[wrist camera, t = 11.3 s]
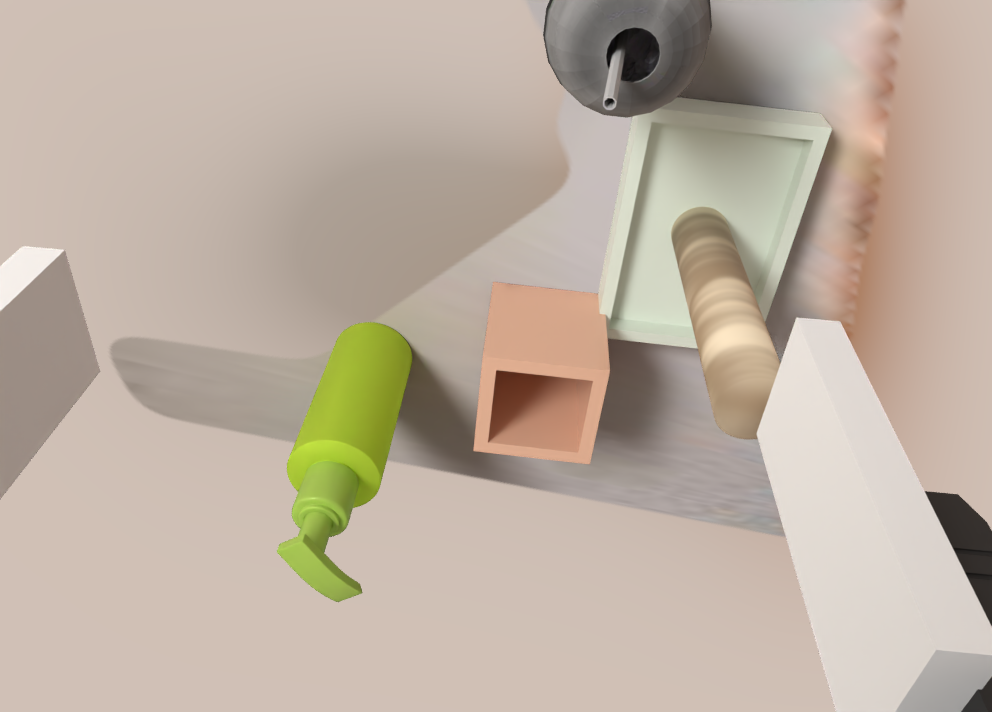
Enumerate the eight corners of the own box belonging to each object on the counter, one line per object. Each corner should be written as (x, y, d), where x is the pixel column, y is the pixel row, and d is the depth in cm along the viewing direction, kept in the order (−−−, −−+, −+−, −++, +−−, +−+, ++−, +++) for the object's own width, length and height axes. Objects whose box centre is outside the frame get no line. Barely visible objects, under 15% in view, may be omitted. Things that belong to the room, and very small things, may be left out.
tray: (637, 92, 48) (640, 106, 46) (820, 113, 48) (832, 128, 46) (593, 316, 57) (595, 336, 55) (746, 333, 57) (753, 354, 55)
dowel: (677, 203, 50) (725, 374, 36) (734, 210, 50) (804, 383, 36) (665, 253, 52) (705, 434, 38) (720, 260, 52) (781, 443, 38)
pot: (493, 281, 56) (482, 356, 49) (603, 294, 56) (610, 370, 49) (484, 370, 61) (473, 451, 53) (586, 382, 60) (589, 464, 53)
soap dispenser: (374, 405, 63) (309, 619, 47) (319, 342, 60) (229, 548, 44) (435, 376, 61) (389, 590, 45) (381, 309, 58) (311, 513, 42)
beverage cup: (694, 19, 45) (768, 150, 29) (572, 66, 47) (576, 213, 31) (660, -120, 41) (723, -59, 25) (528, -63, 43) (508, 28, 27)
